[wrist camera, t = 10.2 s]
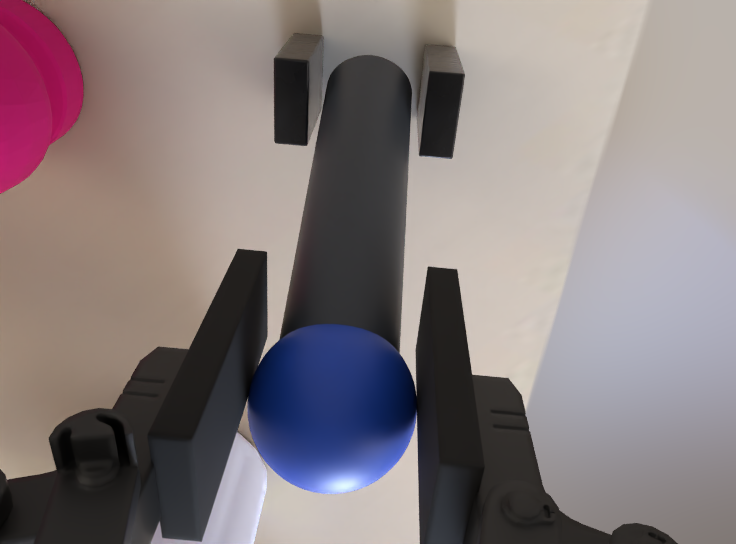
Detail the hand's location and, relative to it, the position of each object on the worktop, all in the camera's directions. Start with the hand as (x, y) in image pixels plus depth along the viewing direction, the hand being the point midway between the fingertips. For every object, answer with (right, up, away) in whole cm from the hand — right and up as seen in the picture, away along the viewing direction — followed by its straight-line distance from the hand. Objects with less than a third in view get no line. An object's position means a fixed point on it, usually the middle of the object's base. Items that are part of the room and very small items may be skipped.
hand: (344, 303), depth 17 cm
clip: (+1, +9, +9) cm, 12 cm away
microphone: (0, +1, +4) cm, 4 cm away
